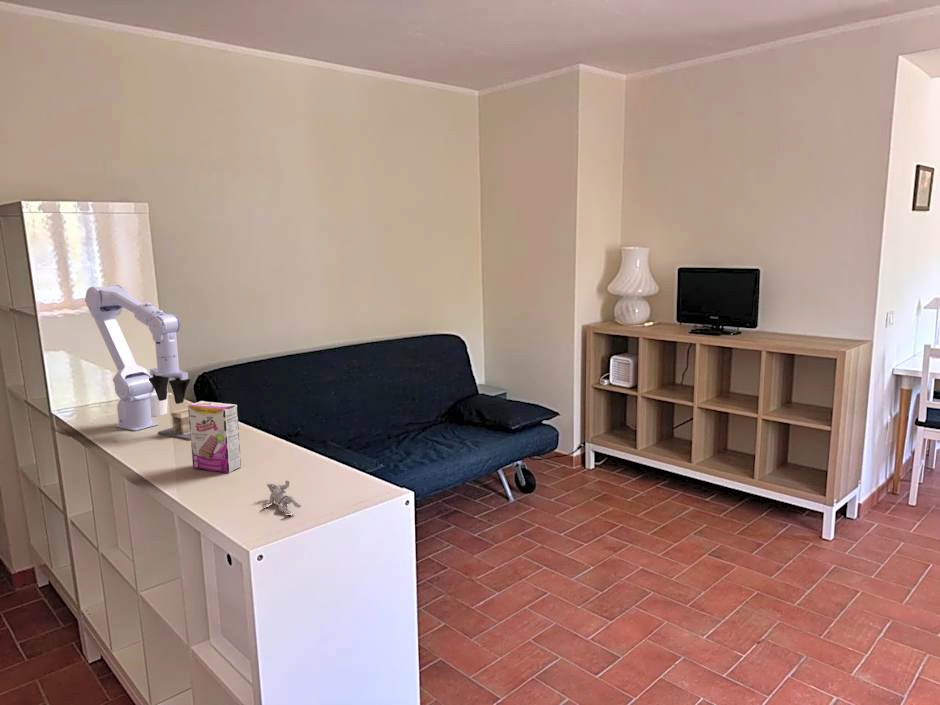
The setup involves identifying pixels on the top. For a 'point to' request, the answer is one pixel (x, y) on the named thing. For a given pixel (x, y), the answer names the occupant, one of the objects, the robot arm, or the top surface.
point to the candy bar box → (214, 436)
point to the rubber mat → (175, 434)
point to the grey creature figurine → (281, 496)
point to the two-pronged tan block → (181, 421)
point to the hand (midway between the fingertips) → (171, 401)
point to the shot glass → (157, 405)
